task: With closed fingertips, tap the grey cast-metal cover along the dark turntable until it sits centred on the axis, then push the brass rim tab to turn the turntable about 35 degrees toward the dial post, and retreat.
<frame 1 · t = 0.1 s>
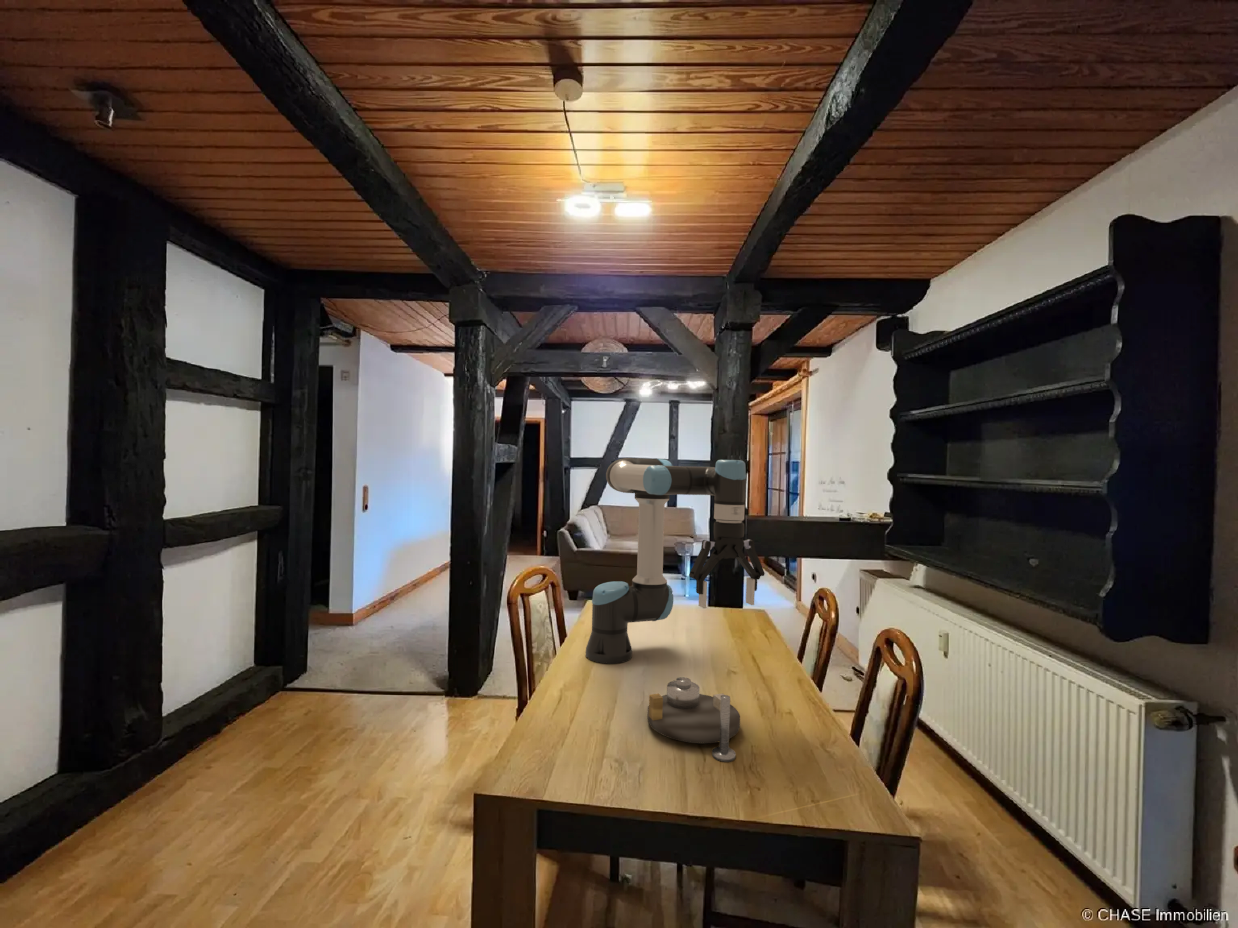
hand: (726, 605, 140), 28 cm above the table, fingers open, 13 cm apart
dial post: (723, 755, 120), on the table
turntable: (693, 705, 133), point 5 cm above the table, hinge at 0.0°, touching cover
cover: (682, 702, 138), point 3 cm above the table, touching turntable
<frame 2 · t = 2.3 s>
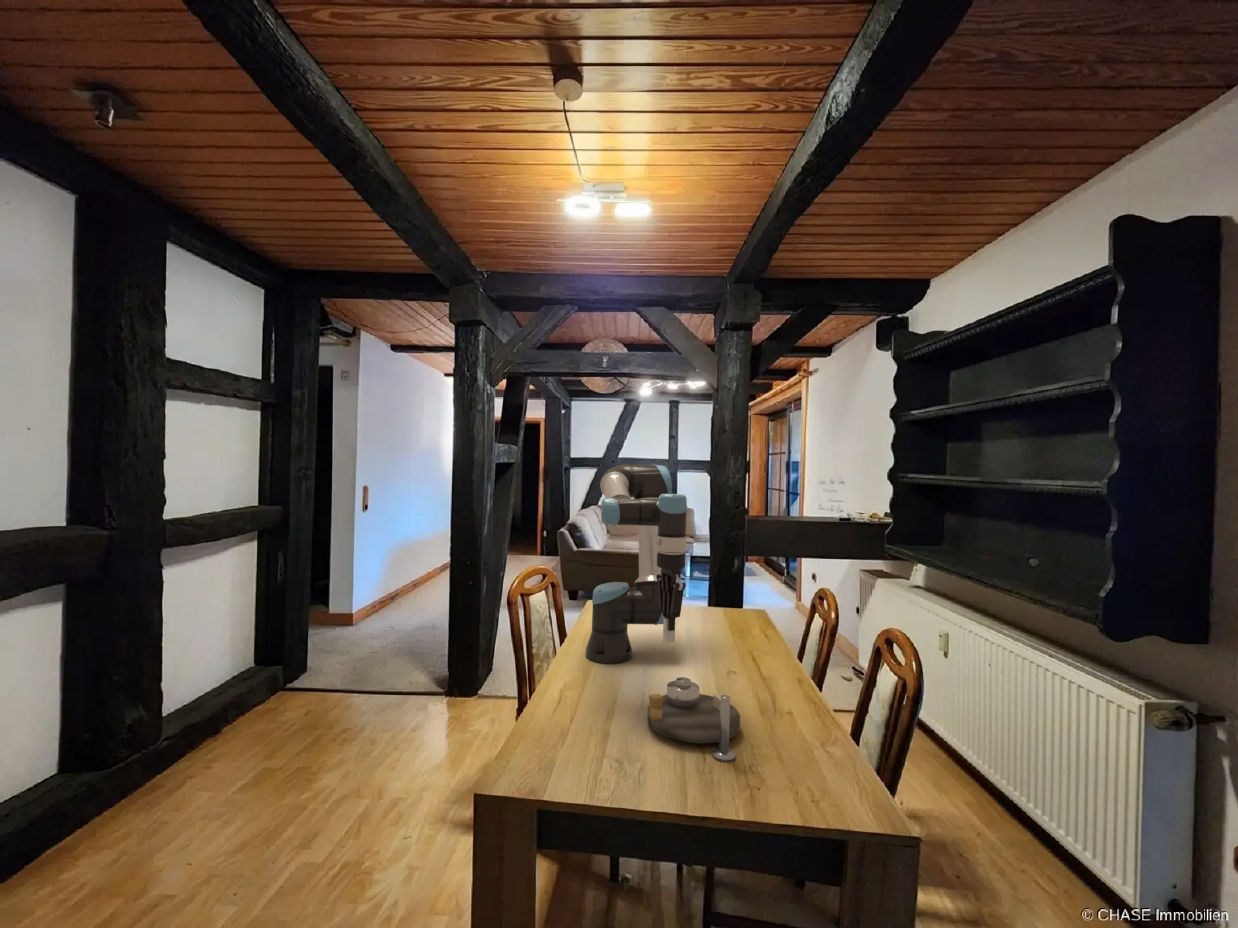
hand: (668, 641, 147), 16 cm above the table, fingers closed
nothing on the table moved.
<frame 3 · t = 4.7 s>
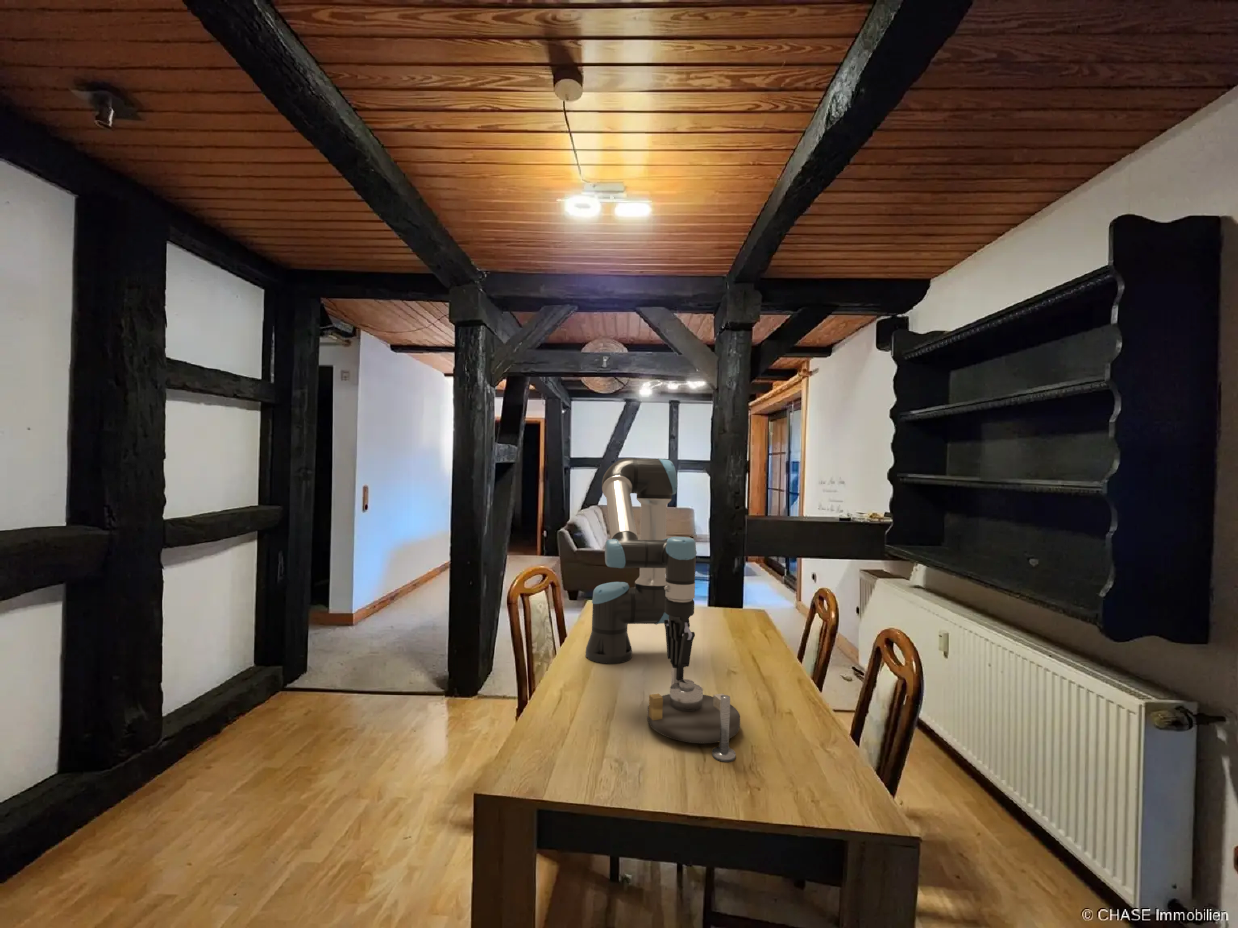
hand: (677, 690, 141), 5 cm above the table, fingers closed
turntable: (693, 705, 133), point 5 cm above the table, hinge at 0.0°
cover: (686, 704, 137), point 4 cm above the table
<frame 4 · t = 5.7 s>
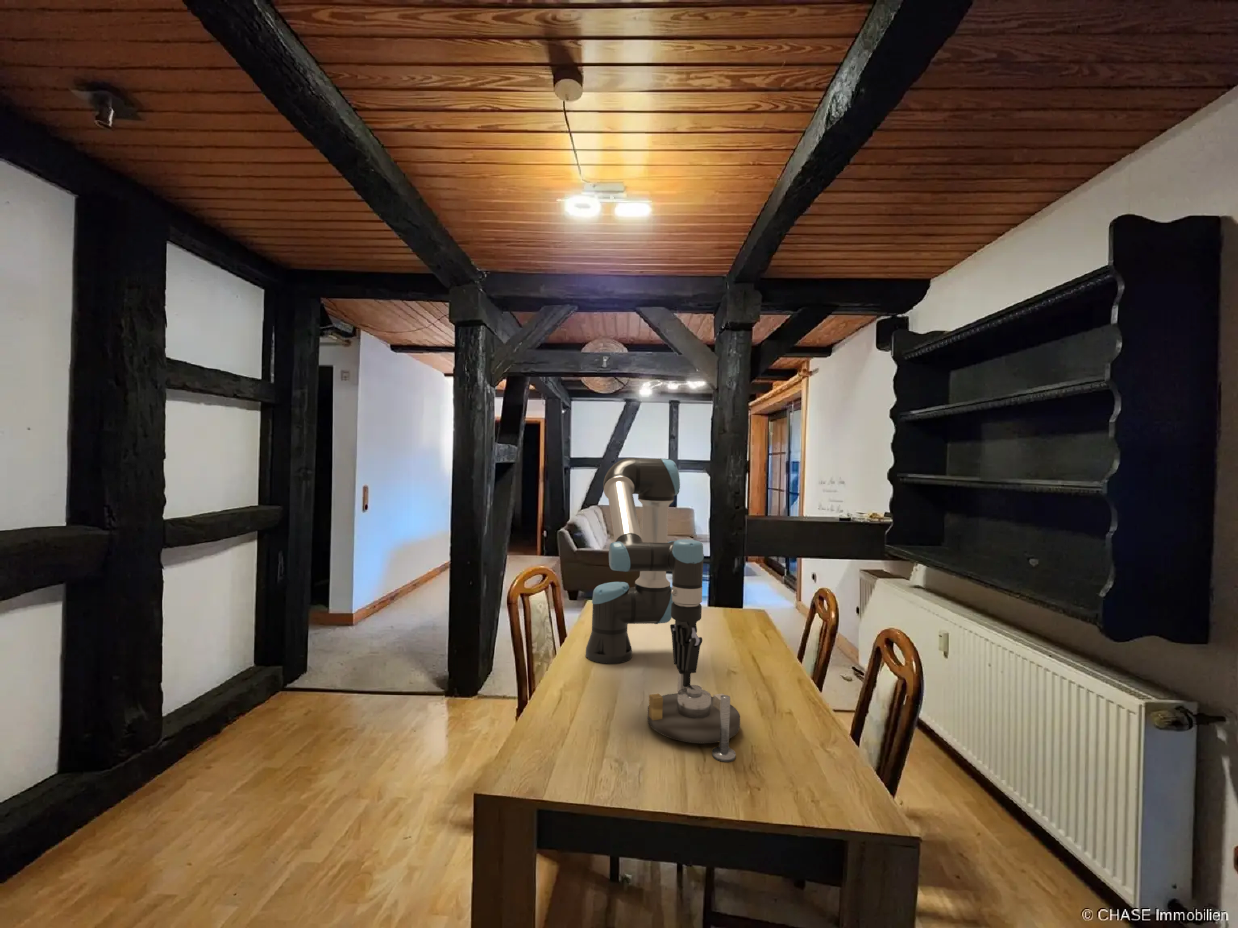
hand: (683, 697, 138), 5 cm above the table, fingers closed
turntable: (693, 705, 133), point 5 cm above the table, hinge at 0.0°, touching cover
cover: (693, 710, 134), point 3 cm above the table, touching gripper, turntable
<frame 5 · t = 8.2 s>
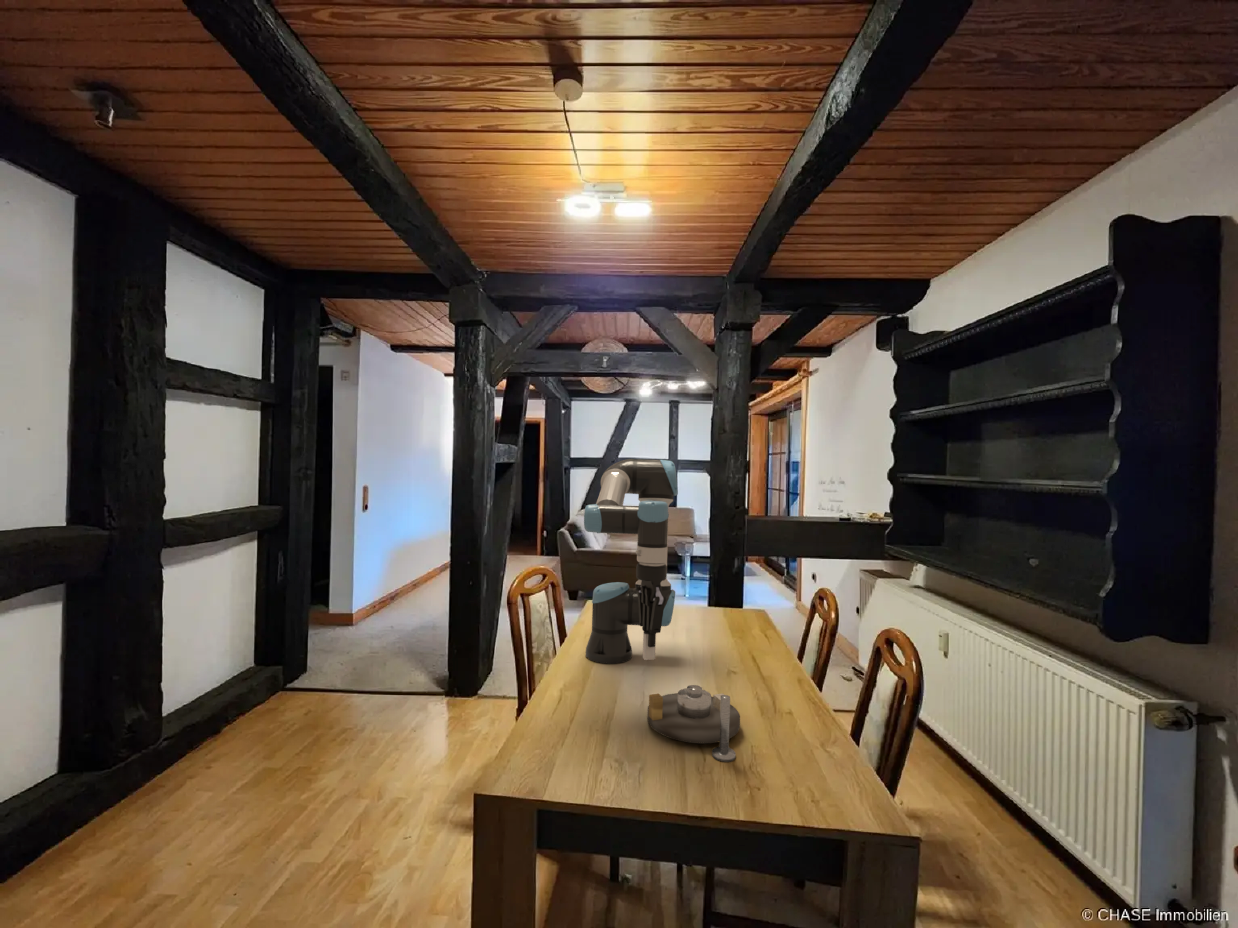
hand: (648, 658, 137), 15 cm above the table, fingers closed
cover: (693, 711, 134), point 3 cm above the table, touching turntable
everything else where it was.
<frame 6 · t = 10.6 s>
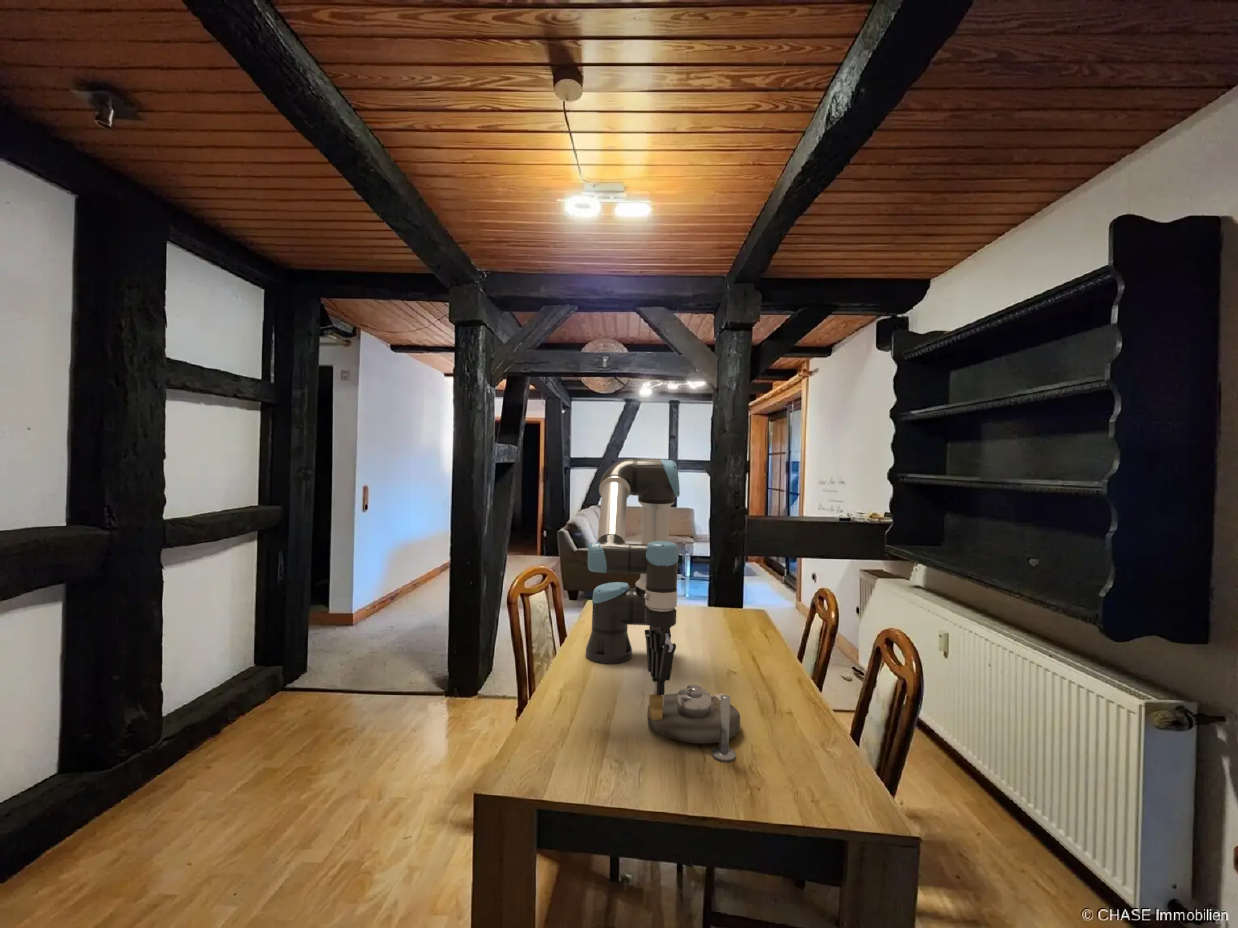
hand: (657, 706, 132), 5 cm above the table, fingers closed
turntable: (693, 705, 133), point 5 cm above the table, hinge at 0.2°, touching cover, gripper
everything else where it was.
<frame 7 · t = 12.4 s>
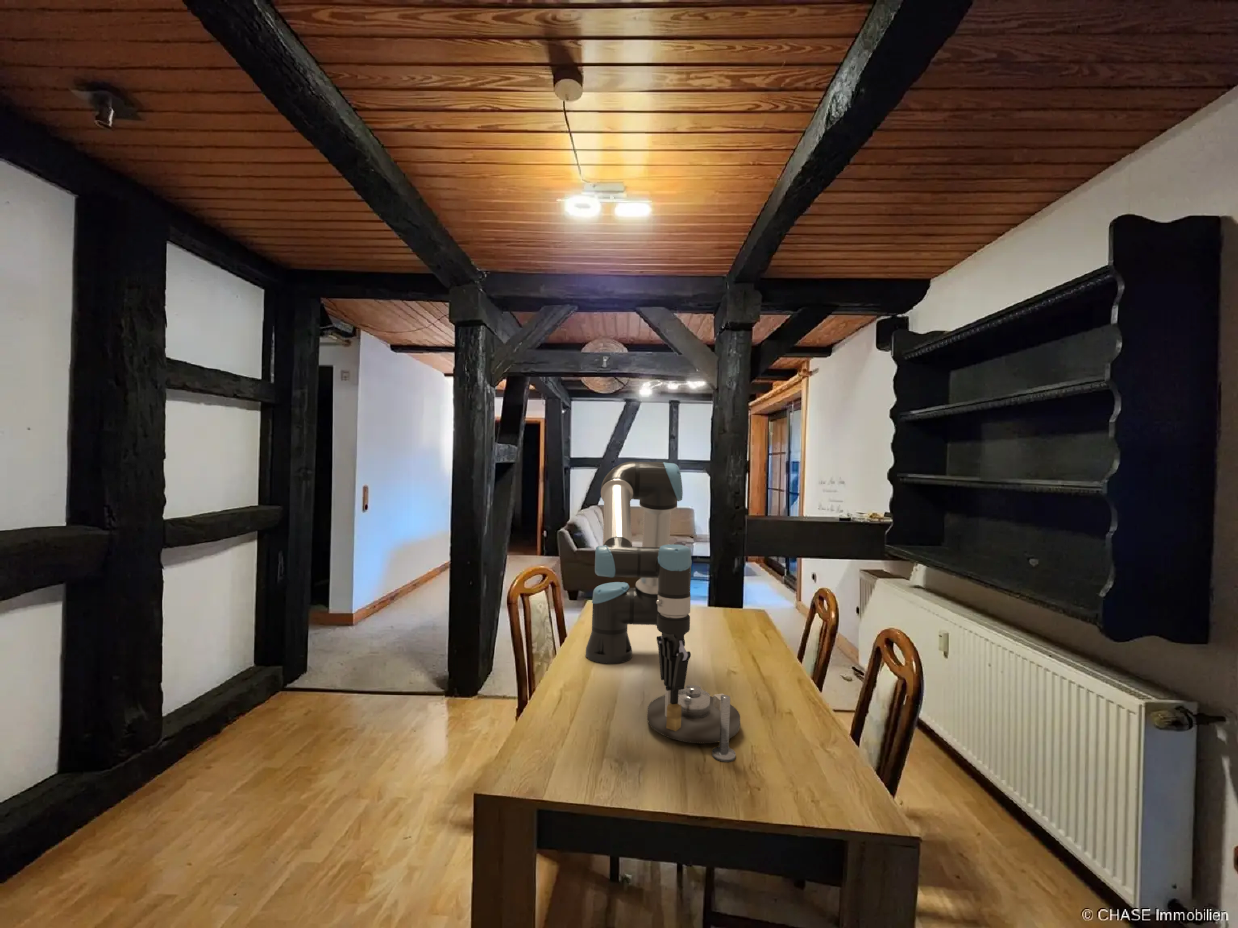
hand: (671, 715, 127), 5 cm above the table, fingers closed
turntable: (693, 705, 133), point 5 cm above the table, hinge at 35.6°, touching cover, gripper
everything else where it was.
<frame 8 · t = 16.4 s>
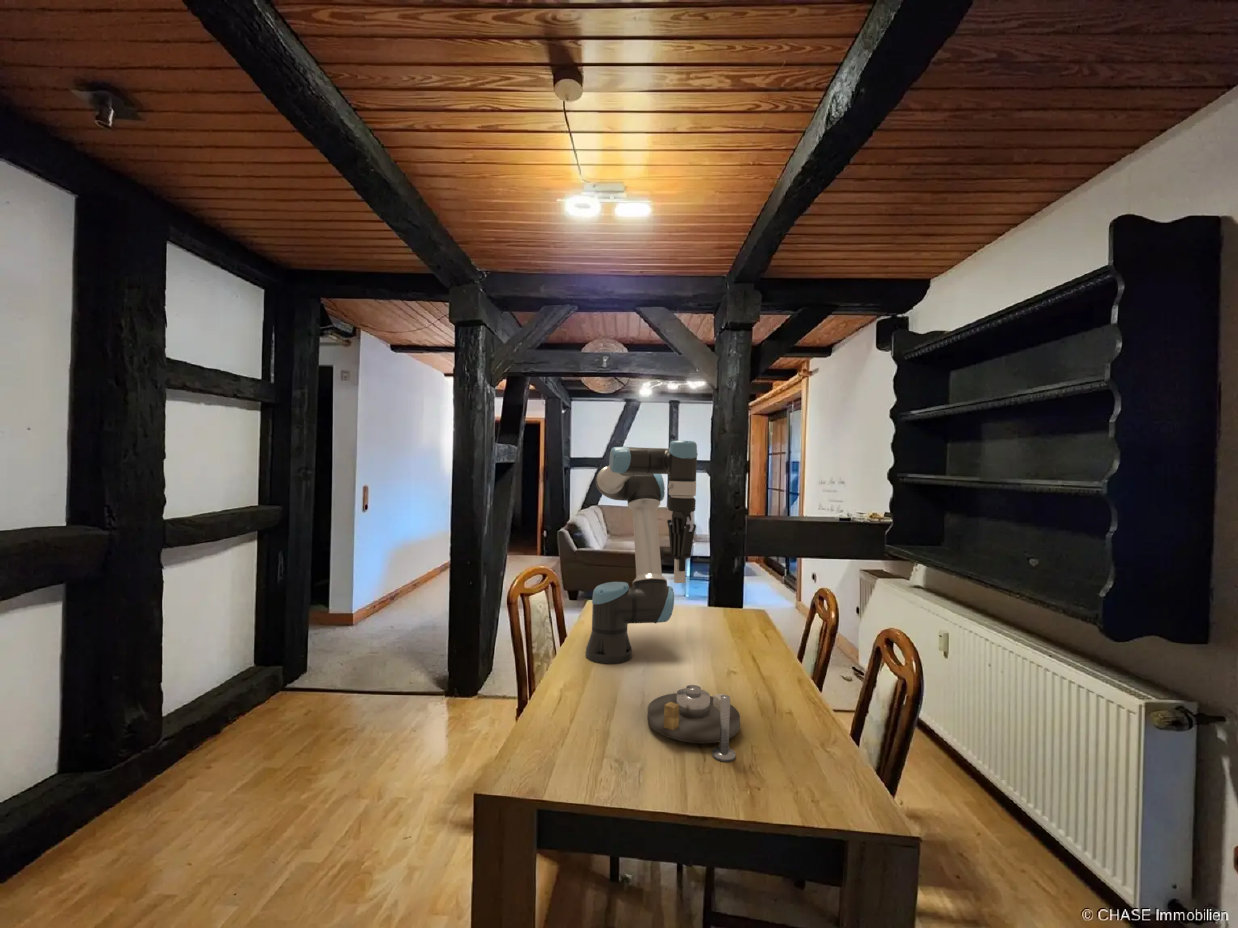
hand: (679, 582, 153), 30 cm above the table, fingers closed
turntable: (693, 705, 133), point 5 cm above the table, hinge at 32.1°, touching cover
everything else where it was.
at the end: cover 0.4 cm from the turntable (horizontally); turntable at +32° (first picture: +0°); cover tilted 0° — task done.
